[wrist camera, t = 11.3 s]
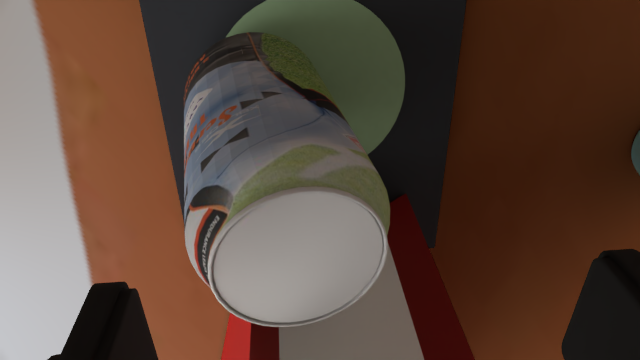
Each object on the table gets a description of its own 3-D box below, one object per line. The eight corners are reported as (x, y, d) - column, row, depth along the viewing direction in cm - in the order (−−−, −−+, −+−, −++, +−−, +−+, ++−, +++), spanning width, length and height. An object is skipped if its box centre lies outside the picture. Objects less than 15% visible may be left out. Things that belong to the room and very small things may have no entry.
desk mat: (110, -165, 18) (103, -167, 17) (483, -171, 19) (490, -173, 18) (194, 258, 28) (192, 266, 28) (432, 241, 29) (435, 249, 28)
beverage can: (193, 13, 21) (115, 137, 10) (361, 42, 22) (440, 180, 12) (185, 144, 24) (119, 341, 13) (332, 164, 25) (375, 357, 15)
